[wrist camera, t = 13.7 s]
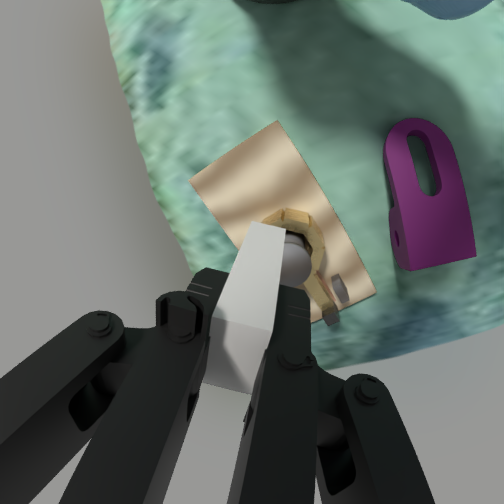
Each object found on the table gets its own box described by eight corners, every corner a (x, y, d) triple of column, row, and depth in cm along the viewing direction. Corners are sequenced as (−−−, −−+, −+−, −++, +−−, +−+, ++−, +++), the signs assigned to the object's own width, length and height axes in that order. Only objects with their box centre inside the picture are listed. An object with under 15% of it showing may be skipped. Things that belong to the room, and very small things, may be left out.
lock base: (191, 178, 40) (164, 196, 32) (277, 120, 35) (271, 121, 27) (296, 324, 48) (294, 364, 40) (375, 288, 43) (388, 325, 35)
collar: (246, 229, 40) (239, 243, 36) (300, 197, 37) (300, 208, 33) (307, 315, 45) (307, 335, 41) (356, 291, 42) (361, 310, 38)
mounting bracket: (368, 144, 39) (394, 267, 39) (376, 122, 31) (410, 271, 31) (424, 137, 37) (451, 255, 37) (442, 115, 29) (476, 256, 28)
